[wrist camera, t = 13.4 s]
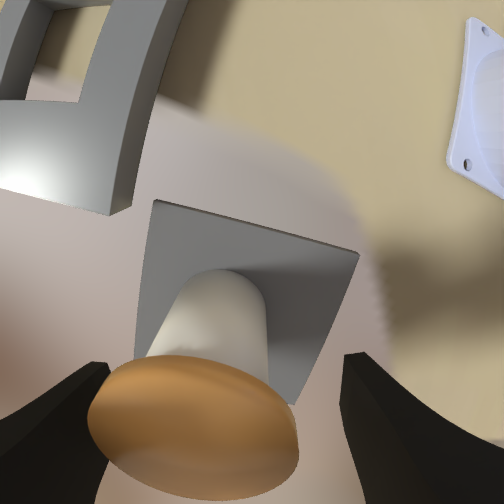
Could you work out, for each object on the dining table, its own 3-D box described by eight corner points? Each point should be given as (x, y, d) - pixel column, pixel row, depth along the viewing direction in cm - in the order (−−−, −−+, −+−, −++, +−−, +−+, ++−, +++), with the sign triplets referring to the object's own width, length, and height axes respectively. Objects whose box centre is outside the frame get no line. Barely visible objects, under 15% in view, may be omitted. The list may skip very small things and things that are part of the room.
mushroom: (273, 245, 11) (291, 371, 5) (286, 352, 13) (302, 496, 6) (149, 262, 12) (52, 375, 5) (179, 361, 13) (135, 493, 6)
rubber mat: (356, 252, 12) (360, 255, 11) (293, 399, 14) (294, 404, 14) (156, 199, 11) (153, 200, 11) (135, 361, 14) (133, 366, 13)
